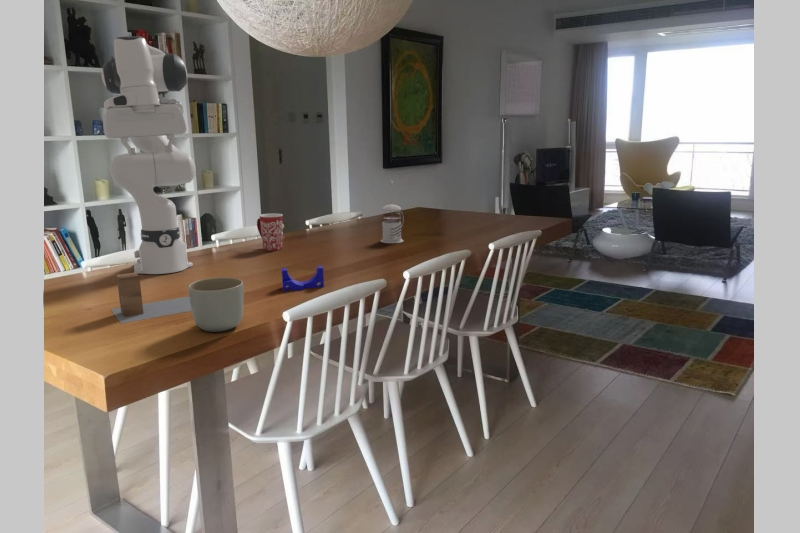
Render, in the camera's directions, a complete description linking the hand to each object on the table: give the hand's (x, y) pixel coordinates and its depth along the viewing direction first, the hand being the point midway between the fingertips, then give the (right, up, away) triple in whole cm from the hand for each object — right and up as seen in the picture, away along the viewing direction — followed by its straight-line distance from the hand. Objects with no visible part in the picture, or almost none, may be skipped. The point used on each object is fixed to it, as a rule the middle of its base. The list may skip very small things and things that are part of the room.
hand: (151, 153), depth 156 cm
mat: (+3, -41, -1) cm, 41 cm away
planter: (+23, -45, -15) cm, 52 cm away
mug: (+15, -23, +76) cm, 81 cm away
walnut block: (-3, -42, -5) cm, 42 cm away
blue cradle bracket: (+37, -37, +20) cm, 56 cm away
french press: (+63, -19, +90) cm, 112 cm away
